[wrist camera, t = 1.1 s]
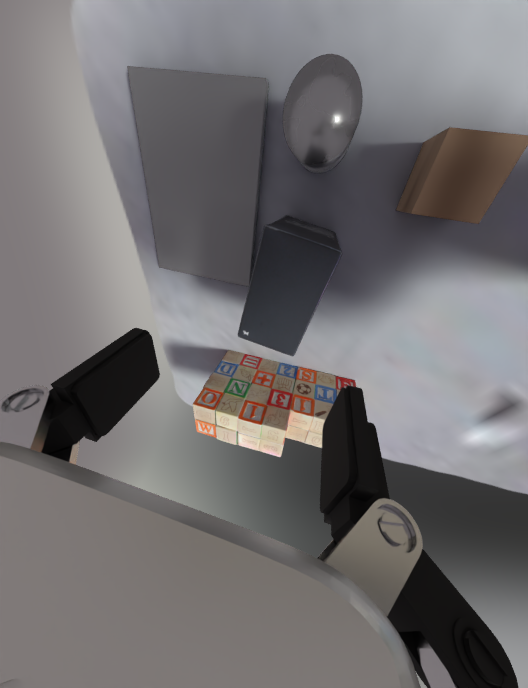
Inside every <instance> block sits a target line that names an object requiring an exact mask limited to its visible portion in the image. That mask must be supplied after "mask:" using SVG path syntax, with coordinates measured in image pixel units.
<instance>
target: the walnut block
mask: <svg viewBox="0 0 528 688" xmlns="http://www.w3.org/2000/svg"><path fill="white" fill-rule="evenodd" d="M527 145H528V136H527V135H517V134H508V133H498V132H489V131H479V130H469V129H460V128H448V129H446V130H444V131H443V132H441V133H439V134H437V135H436V136H434V137H432V138H430V139H429V140H427V141H425V142H424V143H423V145H422V147H421V150H420V152H419V155H418V157H417V160H416V162H415V165H414V167H413V169H412V172H411V174H410V177H409V179H408V182H407V184H406V186H405V189H404V191H403V194H402V196H401V199H400V201H399V203H398V206H397V208H396V211H401V212H406V213H411V214H417V215H423V216H430V217H436V218H443V219H449V220H456V221H462V222H469V223H475V224H479V222H480V221H481V219H482V218H483V216H484V214H485V213H486V211H487V210H488V208H489V206H490V205H491V203H492V202H493V200H494V198H495V197H496V195H497V193H498V192H499V190H500V189H501V187H502V185H503V184H504V182H505V181H506V179H507V177H508V176H509V174H510V173H511V171H512V169H513V168H514V166H515V165H516V163H517V161H518V160H519V158H520V156H521V155H522V153H523V152H524V150H525V148H526V147H527Z"/></svg>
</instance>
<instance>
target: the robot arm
mask: <svg viewBox="0 0 528 688" xmlns="http://www.w3.org/2000/svg"><path fill="white" fill-rule="evenodd" d="M159 375H160V373H159V368H158V364H157V359H156V354H155V349H154V345H153V340H152V336H151V335H150V334H149V332H148V331H146V330H142V329H139V328H134V329H132V330H130V331H129V332H128V333H126V334H125V335H123V336H122V337H120V338H119V339H117V340H116V341H114V342H113V343H111V344H110V345H108V346H107V347H105V348H104V349H102V350H101V351H99V352H98V353H96V354H95V355H93V356H92V357H91V358H89V359H87V360H86V361H84V362H83V363H82V364H80V365H79V366H77V367H76V368H74V369H73V370H71V371H70V372H68V373H67V374H65V375H64V376H62V377H61V378H59V379H58V380H57V381H55V382H53V383H52V384H51V385H52V387H53V389H52V390H50V391H49V390H48V388H47V387H44V386H40V385H34V386H28V387H24V388H21V389H18V390H15V391H13V392H11V393H10V394H8V395H6V396H5V397H3V398H2V399H1V400H0V688H421V687H420V684H419V681H418V678H417V675H416V672H417V674H418V676H419V677H420V678H421V680H422V681H423V682H424V684H425V685H426V686H427V688H518V683H517V678H516V675H515V673H514V670H513V668H512V665H511V663H510V660H509V658H508V657H507V655H506V653H505V651H504V649H503V648H502V646H501V644H500V643H499V641H498V640H497V638H496V637H495V636H494V634H493V633H492V632H491V630H490V629H489V628H488V627H487V625H486V624H485V623H484V622H483V621H482V620H481V618H480V617H479V616H478V615H477V614H476V612H475V611H474V610H473V609H472V607H471V606H470V605H469V604H468V603H467V602H466V600H465V599H464V598H463V597H462V595H461V594H460V593H459V592H458V591H457V589H456V588H455V587H454V586H453V585H452V583H451V582H450V581H449V580H448V579H447V578H446V576H445V575H444V574H443V573H442V572H441V570H440V569H439V568H438V567H437V565H436V564H435V563H434V562H433V561H432V559H431V558H430V557H429V556H428V555H427V553H426V552H425V551H424V550H423V549H422V548H423V545H422V537H421V534H420V531H419V528H418V526H417V524H416V522H415V521H414V519H413V518H412V516H411V515H410V514H409V513H408V511H407V510H405V509H404V508H403V507H402V506H401V505H400V504H398V503H396V502H395V501H393V500H390V498H389V493H388V488H387V483H386V477H385V473H384V467H383V463H382V457H381V452H380V447H379V442H378V437H377V432H376V428H375V426H374V424H372V423H369V422H368V421H367V415H366V409H365V403H364V397H363V391H362V389H361V388H357V387H353V386H350V385H348V386H347V387H346V388H344V387H342V388H341V390H340V392H339V394H338V396H337V398H336V400H335V402H334V404H333V406H332V408H331V410H330V412H329V414H328V416H327V418H326V420H325V422H324V424H323V430H322V461H321V492H320V494H321V495H320V511H321V512H322V513H324V522H325V523H328V524H331V531H332V532H331V535H332V537H333V540H332V541H331V543H330V544H329V545H328V546H327V547H326V548H325V550H324V551H323V552H322V553H321V554H320V555H319V557H318V558H315V557H313V556H311V555H309V554H307V553H305V552H303V551H300V550H298V549H296V548H294V547H291V546H289V545H287V544H284V543H282V542H279V541H276V540H274V539H272V538H269V537H266V536H264V535H261V534H259V533H257V532H254V531H252V530H249V529H246V528H244V527H241V526H238V525H236V524H233V523H230V522H228V521H225V520H222V519H220V518H217V517H215V516H212V515H209V514H207V513H204V512H201V511H198V510H196V509H193V508H191V507H188V506H185V505H183V504H180V503H177V502H175V501H172V500H169V499H167V498H164V497H161V496H159V495H156V494H153V493H151V492H148V491H145V490H143V489H140V488H137V487H134V486H132V485H129V484H126V483H124V482H121V481H118V480H116V479H113V478H110V477H107V476H104V475H102V474H99V473H97V472H94V471H91V470H88V469H86V468H83V467H80V466H77V465H76V460H77V454H78V448H79V442H80V440H81V439H82V438H83V437H84V436H85V438H87V439H89V440H92V441H95V442H97V441H98V440H99V439H100V438H101V436H104V435H106V434H107V433H108V432H109V431H110V430H111V429H112V428H113V427H114V426H115V425H116V424H117V423H118V422H119V421H120V420H121V419H122V417H123V416H124V415H125V414H126V413H127V412H128V411H129V410H130V409H131V408H132V407H133V405H134V404H136V403H137V401H138V400H139V399H140V398H141V397H142V396H143V395H144V394H145V393H146V392H147V391H148V390H149V389H150V387H152V385H153V384H154V383H155V382H156V381H157V380H158V378H159ZM415 671H416V672H415Z"/></svg>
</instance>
